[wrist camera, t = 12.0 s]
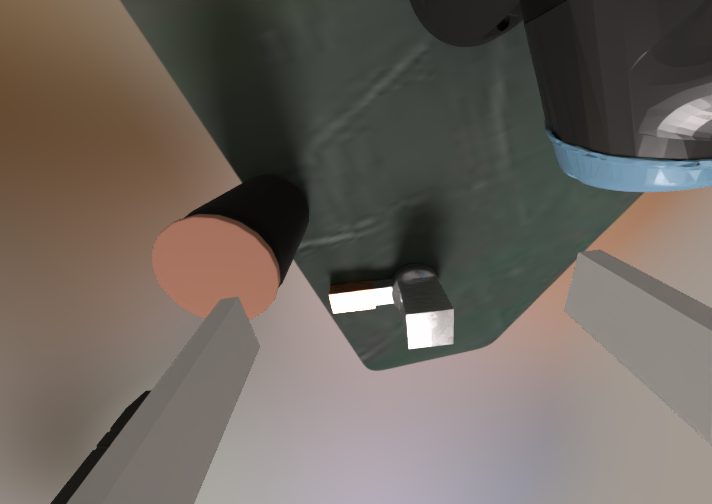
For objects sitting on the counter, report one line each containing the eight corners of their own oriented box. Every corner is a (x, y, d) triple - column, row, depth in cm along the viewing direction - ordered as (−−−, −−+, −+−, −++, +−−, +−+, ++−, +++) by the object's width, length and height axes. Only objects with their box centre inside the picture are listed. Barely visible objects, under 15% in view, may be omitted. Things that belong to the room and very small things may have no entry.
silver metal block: (397, 280, 41) (406, 315, 33) (436, 275, 40) (453, 309, 33) (400, 311, 43) (408, 348, 36) (436, 306, 43) (453, 343, 36)
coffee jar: (237, 166, 36) (140, 203, 20) (315, 182, 37) (283, 230, 21) (236, 236, 40) (158, 313, 24) (305, 249, 41) (274, 331, 25)
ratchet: (437, 260, 42) (451, 284, 36) (437, 299, 46) (450, 328, 40) (327, 274, 44) (323, 300, 37) (336, 312, 47) (333, 341, 41)
